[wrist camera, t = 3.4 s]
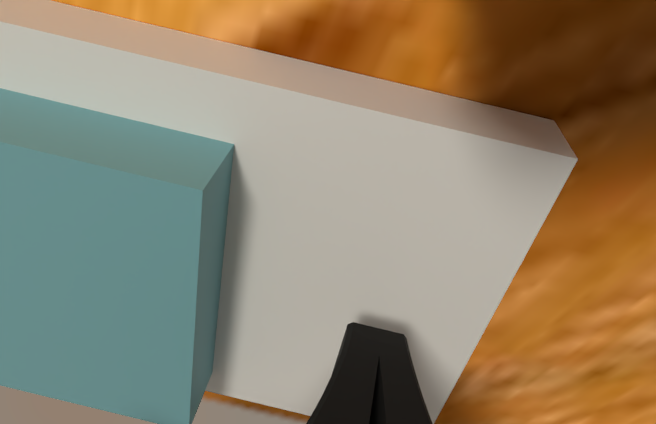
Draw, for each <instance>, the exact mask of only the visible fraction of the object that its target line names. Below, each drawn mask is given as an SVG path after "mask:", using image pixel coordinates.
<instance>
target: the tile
mask: <svg viewBox="0 0 656 424" xmlns="http://www.w3.org/2000/svg"><path fill="white" fill-rule="evenodd" d="M233 152H234V144H231V143H227V142H223V141H219V140H215V139H211V138H206V137H202V136H198V135H194V134H190V133H186V132H181V131H177V130H173V129H169V128H165V127H160V126H156V125H152V124H148V123H144V122H140V121H135V120H131V119H127V118H123V117H119V116H115V115H110V114H106V113H102V112H98V111H94V110H89V109H85V108H81V107H77V106H73V105H69V104H64V103H60V102H56V101H52V100H48V99H44V98H39V97H35V96H31V95H27V94H23V93H18V92H14V91H10V90H6V89H2V88H0V385H1V386H6V387H10V388H14V389H18V390H22V391H26V392H30V393H34V394H38V395H42V396H46V397H51V398H55V399H59V400H64V401H67V402H71V403H76V404H79V405H84V406H88V407H92V408H96V409H100V410H104V411H108V412H112V413H117V414H121V415H125V416H129V417H133V418H137V419H141V420H145V421H149V422H153V423H157V424H192V421H193V419H194V416H195V414H196V412H197V409H198V407H199V404H200V402H201V399H202V397H203V394H204V392H205V389H206V387H207V384H208V382H209V380H210V377H211V375H212V371H213V361H214V350H215V340H216V329H217V319H218V309H219V298H220V288H221V277H222V267H223V256H224V246H225V235H226V225H227V214H228V204H229V193H230V183H231V172H232V162H233Z"/></svg>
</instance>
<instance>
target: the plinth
mask: <svg viewBox="0 0 656 424" xmlns="http://www.w3.org/2000/svg"><path fill="white" fill-rule="evenodd" d="M0 88H2V89H6V90H10V91H14V92H18V93H23V94H27V95H31V96H35V97H39V98H44V99H48V100H52V101H56V102H60V103H64V104H69V105H73V106H77V107H81V108H85V109H89V110H94V111H98V112H102V113H106V114H110V115H115V116H119V117H123V118H127V119H131V120H135V121H140V122H144V123H148V124H152V125H156V126H160V127H165V128H169V129H173V130H177V131H181V132H186V133H190V134H194V135H198V136H202V137H206V138H211V139H215V140H219V141H223V142H227V143H231V144H234V152H233V162H232V172H231V183H230V193H229V204H228V214H227V225H226V235H225V246H224V256H223V267H222V277H221V288H220V298H219V309H218V319H217V329H216V340H215V350H214V361H213V371H212V375H211V377H210V380H209V382H208V384H207V387H206V389H205V391H209V392H213V393H217V394H222V395H226V396H230V397H234V398H238V399H242V400H246V401H250V402H255V403H259V404H263V405H267V406H271V407H275V408H279V409H283V410H288V411H292V412H296V413H300V414H304V415H308V416H311V415H312V413H313V411H314V409H315V408H316V406H317V404H318V402H319V400H320V399H321V397H322V395H323V393H324V391H325V388H326V386H327V384H328V382H329V380H330V378H331V376H332V372H333V369H334V366H335V363H336V359H337V356H338V353H339V350H340V347H341V343H342V340H343V337H344V334H345V331H346V328H347V324H350V323H352V322H355V323H359V324H363V325H367V326H372V327H376V328H380V329H384V330H388V331H392V332H396V333H401V334H404V335H405V337H406V338H407V342H408V347H409V351H410V355H411V359H412V362H413V366H414V369H415V373H416V376H417V379H418V383H419V386H420V389H421V392H422V395H423V398H424V401H425V404H426V407H427V410H428V412H429V415H430V418H431V421H432V423H433V424H434V422H435V421H436V419H437V417H438V415H439V413H440V411H441V410H442V408H443V406H444V404H445V402H446V400H447V399H448V397H449V395H450V393H451V391H452V389H453V388H454V386H455V384H456V382H457V380H458V378H459V377H460V375H461V373H462V371H463V369H464V367H465V366H466V364H467V362H468V360H469V358H470V356H471V355H472V353H473V351H474V349H475V347H476V345H477V344H478V342H479V340H480V338H481V336H482V334H483V333H484V331H485V329H486V327H487V325H488V323H489V322H490V320H491V318H492V316H493V314H494V312H495V311H496V309H497V307H498V305H499V303H500V301H501V300H502V298H503V296H504V294H505V292H506V290H507V289H508V287H509V285H510V283H511V281H512V279H513V278H514V276H515V274H516V272H517V270H518V268H519V267H520V265H521V263H522V261H523V259H524V257H525V256H526V254H527V252H528V250H529V248H530V246H531V245H532V243H533V241H534V239H535V237H536V235H537V234H538V232H539V230H540V228H541V226H542V224H543V223H544V221H545V219H546V217H547V215H548V213H549V212H550V210H551V208H552V206H553V204H554V202H555V201H556V199H557V197H558V195H559V193H560V191H561V190H562V188H563V186H564V184H565V182H566V180H567V179H568V177H569V175H570V173H571V171H572V169H573V168H574V166H575V164H576V162H577V160H578V158H577V157H576V155H575V154H574V152H573V150H572V149H571V147H570V145H569V144H568V142H567V141H566V139H565V137H564V136H563V134H562V132H561V131H560V129H559V128H558V126H557V124H556V123H555V121H554V120H550V119H546V118H542V117H538V116H534V115H529V114H525V113H521V112H517V111H513V110H508V109H504V108H500V107H496V106H492V105H487V104H483V103H479V102H475V101H471V100H467V99H462V98H458V97H454V96H450V95H446V94H441V93H437V92H433V91H429V90H425V89H420V88H416V87H412V86H408V85H404V84H399V83H395V82H391V81H387V80H383V79H378V78H374V77H370V76H366V75H362V74H357V73H353V72H349V71H345V70H341V69H336V68H332V67H328V66H324V65H320V64H315V63H311V62H307V61H303V60H299V59H294V58H290V57H286V56H282V55H278V54H273V53H269V52H265V51H261V50H257V49H252V48H248V47H244V46H240V45H236V44H231V43H227V42H223V41H219V40H215V39H210V38H206V37H202V36H198V35H194V34H189V33H185V32H181V31H177V30H173V29H168V28H164V27H160V26H156V25H152V24H147V23H143V22H139V21H135V20H131V19H126V18H122V17H118V16H114V15H110V14H106V13H101V12H97V11H93V10H89V9H85V8H80V7H76V6H72V5H68V4H64V3H59V2H55V1H51V0H0Z"/></svg>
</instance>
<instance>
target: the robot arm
mask: <svg viewBox="0 0 656 424" xmlns="http://www.w3.org/2000/svg"><path fill="white" fill-rule="evenodd" d="M307 424H433V423H432V421H431V418H430V415H429V412H428V410H427V407H426V404H425V401H424V398H423V395H422V392H421V389H420V386H419V383H418V379H417V376H416V373H415V369H414V366H413V362H412V359H411V355H410V351H409V347H408V342H407V338H406V337H405V335H404V334H401V333H396V332H392V331H388V330H384V329H380V328H376V327H372V326H367V325H363V324H359V323H355V322H352V323H350V324H347V328H346V331H345V334H344V337H343V340H342V343H341V347H340V350H339V353H338V356H337V359H336V363H335V366H334V369H333V372H332V376H331V378H330V380H329V382H328V384H327V386H326V388H325V391H324V393H323V395H322V397H321V399H320V400H319V402H318V404H317V406H316V408H315V409H314V411H313V413H312V415H311V417H310V418H309V420H308V422H307Z"/></svg>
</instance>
